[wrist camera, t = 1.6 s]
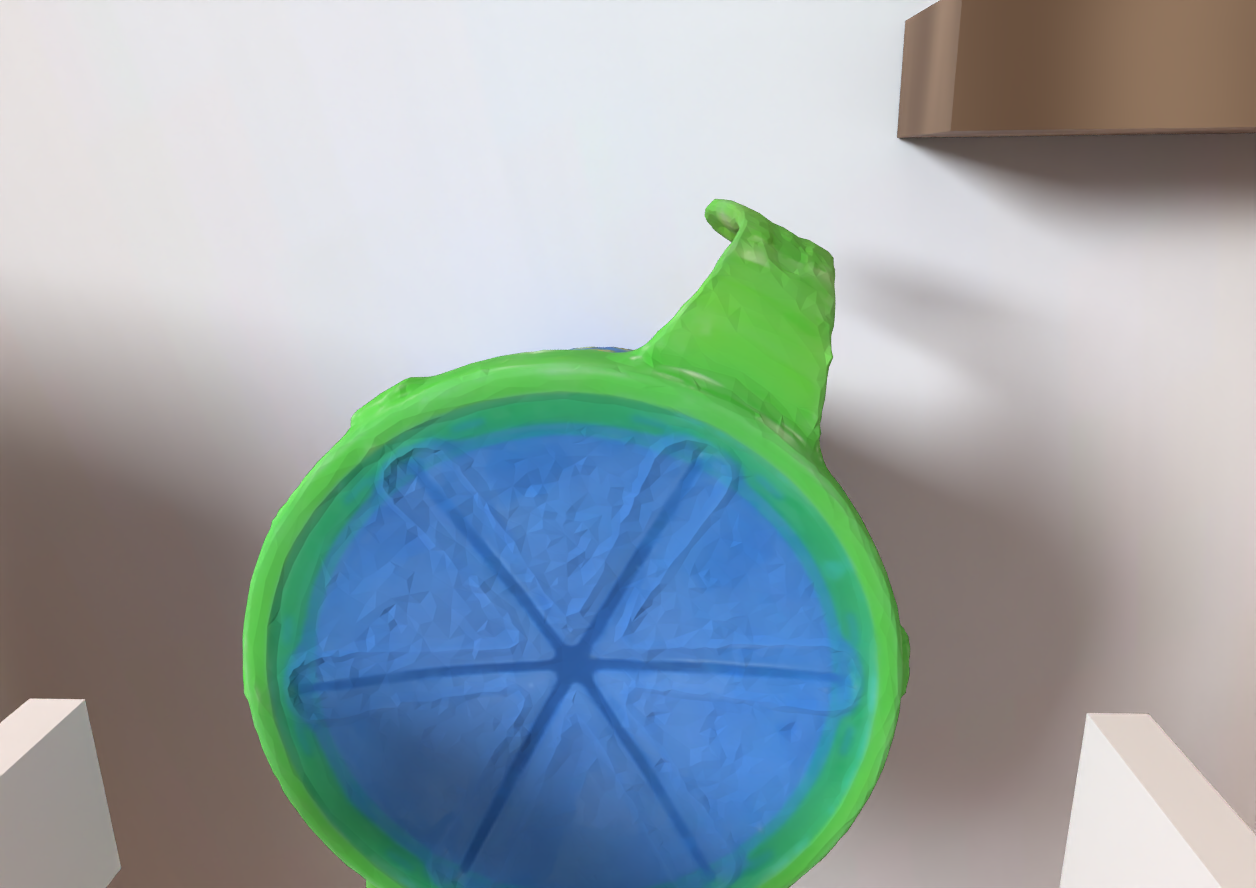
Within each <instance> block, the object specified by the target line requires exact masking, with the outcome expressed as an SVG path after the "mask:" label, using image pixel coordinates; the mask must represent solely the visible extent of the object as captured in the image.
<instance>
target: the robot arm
mask: <svg viewBox="0 0 1256 888" xmlns="http://www.w3.org/2000/svg"><path fill="white" fill-rule="evenodd" d="M120 869H121V864H120V860H119V855H118V850H117V846H116V841H115V837H114V832H113V827H112V823H111V818H110V813H109V809H108V804H107V799H106V795H105V790H104V785H103V781H102V776H101V771H100V767H99V762H98V757H97V753H96V748H95V743H94V739H93V734H92V729H91V725H90V720H89V715H88V711H87V706H86V701H85V699H28V700H27V701H26V702H25V703H24V704H22V705H21V706H20V707H19V708H18V709H16V710H15V711H14V712H13V713H12V714H10V715H9V716H8V717H7V718H5V719H4V720H3V721H2V722H1V723H0V888H106V887H107V886H108V885H109V883H110V882H111V881H112V879H113V878H114V877H115V876H116V874H117V873H118V872H119V870H120ZM1060 888H1256V835H1255V834H1254V833H1253V831H1252V830H1251V829H1250V828H1249V827H1248V826H1247V825H1246V823H1245V822H1244V821H1243V820H1242V819H1241V818H1240V817H1239V816H1238V814H1237V813H1236V812H1235V811H1234V810H1233V809H1232V808H1231V807H1230V805H1229V804H1228V803H1227V802H1226V801H1225V800H1224V799H1223V797H1222V796H1221V795H1220V794H1219V793H1218V792H1217V791H1216V790H1215V788H1214V787H1213V786H1212V785H1211V784H1210V783H1209V782H1208V780H1207V779H1206V778H1205V777H1204V776H1203V775H1202V774H1201V773H1200V771H1199V770H1198V769H1197V768H1196V767H1195V766H1194V765H1193V764H1192V762H1191V761H1190V760H1189V759H1188V758H1187V757H1186V756H1185V754H1184V753H1183V752H1182V751H1181V750H1180V749H1179V748H1178V747H1177V745H1176V744H1175V743H1174V742H1173V741H1172V740H1171V739H1170V737H1169V736H1168V735H1167V734H1166V733H1165V732H1164V731H1163V730H1162V728H1161V727H1160V726H1159V725H1158V724H1157V723H1156V722H1155V721H1154V719H1153V718H1152V717H1151V716H1150V715H1149V714H1130V713H1087V716H1086V722H1085V729H1084V735H1083V741H1082V748H1081V754H1080V760H1079V767H1078V773H1077V779H1076V786H1075V792H1074V799H1073V805H1072V811H1071V818H1070V824H1069V830H1068V837H1067V843H1066V849H1065V856H1064V862H1063V869H1062V875H1061V881H1060Z"/></svg>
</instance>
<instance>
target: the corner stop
mask: <svg viewBox="0 0 1256 888" xmlns="http://www.w3.org/2000/svg"><path fill="white" fill-rule="evenodd" d="M1221 133H1256V0H940V1H938V2H937V3H935V4H933V5H931V6H930V7H928V8H926V9H925V10H923V11H921V12H920V13H918V14H916V15H915V16H913V17H911V18H909V19H908V20H906V21H905V34H904V48H903V62H902V76H901V90H900V104H899V118H898V132H897V138H918V137H994V136H1070V135H1145V134H1221Z"/></svg>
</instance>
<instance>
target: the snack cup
mask: <svg viewBox="0 0 1256 888" xmlns="http://www.w3.org/2000/svg"><path fill="white" fill-rule="evenodd" d="M705 218H706V220H707V222H708V223H709V224H710V225H711V226H712V228H713V229H714V230H715V231H716V232H718V233H719V234H720V235H722V236H723V237H725V238H726V239H727V240H729V241H731V242H732V243H731V244H730V245H729V246H728V247H727V249H726V250H725V251H724V253H723V254H722V256H721V257H720V258H719V260H718V261H717V263H716V265H715V267H714V269H713V271H712V272H711V274H710V275H709V276H708V278H707V279H706V280H705V281H704V283H703V284H702V285H701V287H700V288H699V290H698V291H697V292H696V293H695V294H694V295H693V296H692V297H691V298H690V299H689V300H688V301H687V302H686V303H685V304H684V305H683V306H682V307H681V308H680V310H679V311H678V312H677V314H676V315H675V316H674V317H673V318H672V319H671V320H670V321H669V322H668V323H667V324H666V325H665V326H664V327H663V328H661V329H660V330H659V331H658V332H657V333H656V334H655V336H654V337H653V338H652V339H651V340H650V341H649V342H648V343H647V344H645V345H644V346H642V347H640V348H639V349H636V350H630V349H624V348H618V347H605V348H604V347H583V348H573V349H570V350H541V351H535V352H524V353H518V354H511V355H505V356H499V357H495V358H491V359H487V360H483V361H479V362H475V363H471V364H468V365H466V366H463V367H460V368H457V369H454V370H451V371H448V372H445V373H442V374H439V375H436V376H431V377H410V378H408V379H405V380H403V381H401V382H400V383H398V384H396V385H395V386H393V387H391V388H389V389H388V390H386V391H384V392H383V393H381V394H379V395H378V396H377V397H375V398H374V399H373V400H371V401H370V402H368V403H367V404H366V405H364V406H363V407H362V408H360V409H359V410H357V411H356V412H355V414H354V415H353V416H352V418H351V428H350V429H349V430H348V431H347V433H346V434H345V435H344V436H343V437H342V438H341V439H340V440H339V441H338V442H337V443H336V444H335V445H334V446H333V447H332V448H331V449H330V450H329V451H328V452H327V453H326V454H325V455H324V456H323V457H322V458H321V459H320V460H319V461H318V462H317V463H316V465H315V466H314V467H313V468H312V469H311V471H310V472H309V473H308V474H307V475H306V476H305V478H304V479H303V480H302V482H301V483H300V485H299V486H298V487H297V489H296V490H295V491H294V492H293V493H292V494H291V496H290V497H289V499H288V501H287V502H286V503H285V504H284V505H283V506H282V507H281V509H280V510H279V511H278V513H277V515H276V517H275V518H274V519H273V521H272V524H271V528H270V530H269V532H268V534H267V536H266V538H265V541H264V543H263V546H262V549H261V551H260V554H259V557H258V560H257V563H256V566H255V569H254V572H253V576H252V579H251V583H250V588H249V594H248V600H247V606H246V612H245V619H244V628H243V683H244V694H245V696H246V698H247V700H248V702H249V706H250V710H251V713H252V718H253V723H254V727H255V729H256V731H257V733H258V736H259V739H260V743H261V746H262V749H263V751H264V753H265V755H266V758H267V760H268V762H269V764H270V766H271V768H272V771H273V773H274V775H275V776H276V777H277V779H278V780H279V782H280V785H281V787H282V790H283V792H284V793H285V795H286V796H287V798H288V799H289V801H290V802H291V804H292V805H293V806H294V808H295V809H296V810H297V811H298V813H299V814H300V815H301V817H302V818H303V820H304V821H305V822H306V823H307V825H308V826H309V827H310V829H311V830H312V831H313V832H314V833H315V834H316V835H317V836H318V837H319V838H320V839H321V840H322V841H323V843H324V844H325V845H326V846H327V847H328V848H329V849H330V850H331V851H332V852H333V853H334V854H335V855H336V856H337V857H338V858H339V859H341V860H342V861H343V862H344V863H345V864H346V865H347V866H348V867H350V868H351V869H353V870H354V871H356V872H357V873H358V874H359V875H361V876H362V877H363V878H364V879H366V888H789V887H790V886H792V885H793V884H794V883H795V882H796V881H797V880H798V879H800V878H801V877H802V876H803V875H804V874H806V873H807V872H808V871H809V870H810V869H811V868H813V867H814V866H815V865H816V864H817V863H818V862H819V861H821V860H822V859H823V858H824V857H825V856H826V855H827V854H828V853H829V852H830V850H831V849H832V848H833V847H834V846H835V845H836V843H837V842H838V841H839V840H840V838H841V837H842V836H843V835H844V834H845V833H846V832H847V831H848V830H849V828H850V827H851V825H852V824H853V822H854V821H855V819H856V818H857V816H858V814H859V813H860V811H861V810H862V808H863V806H864V805H865V803H866V802H867V800H868V798H869V797H870V795H871V793H872V791H873V789H874V787H875V785H876V783H877V781H878V778H879V776H880V774H881V772H882V770H883V768H884V765H885V762H886V759H887V756H888V753H889V749H890V746H891V743H892V740H893V737H894V733H895V728H896V724H897V720H898V716H899V709H900V700H901V697H902V696H903V695H904V694H905V693H906V687H907V683H908V679H909V670H910V668H909V657H910V645H909V638H908V635H907V633H906V632H905V630H904V628H903V627H902V626H901V625H900V621H899V614H898V608H897V604H896V601H895V598H894V594H893V591H892V588H891V585H890V582H889V579H888V575H887V572H886V570H885V568H884V565H883V563H882V560H881V558H880V556H879V553H878V551H877V549H876V547H875V545H874V543H873V540H872V538H871V536H870V534H869V532H868V530H867V529H866V527H865V525H864V523H863V521H862V519H861V517H860V515H859V514H858V512H857V511H856V509H855V507H854V506H853V504H852V503H851V501H850V499H849V498H848V496H847V495H846V493H845V492H844V490H843V489H842V487H841V486H840V485H839V483H838V482H837V481H836V480H835V478H834V477H833V476H832V475H831V473H830V472H829V470H828V469H827V467H826V465H825V463H824V460H823V457H822V454H821V450H820V440H819V439H820V435H821V429H820V422H821V417H822V409H823V405H824V401H825V394H826V384H827V376H828V370H829V366H830V363H831V361H832V359H833V355H832V350H831V334H832V331H833V327H834V319H835V288H834V282H835V269H834V261H833V257H832V255H831V254H830V253H829V252H828V251H826V250H825V249H823V248H821V247H820V246H818V245H816V244H815V243H813V242H811V241H810V240H807V239H803V238H799V237H797V236H796V235H794V234H793V233H791V232H790V231H788V230H786V229H785V228H783V227H781V226H779V225H776V224H774V223H772V222H771V221H769V220H768V219H767V218H765V217H764V216H763V215H761V214H760V213H758V212H756V211H754V210H752V209H750V208H748V207H746V206H743V205H741V204H739V203H736V202H734V201H731V200H724V199H714V200H713V201H712V202H711V203H710V204H709V205H708V206H707V208H706V209H705Z"/></svg>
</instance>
